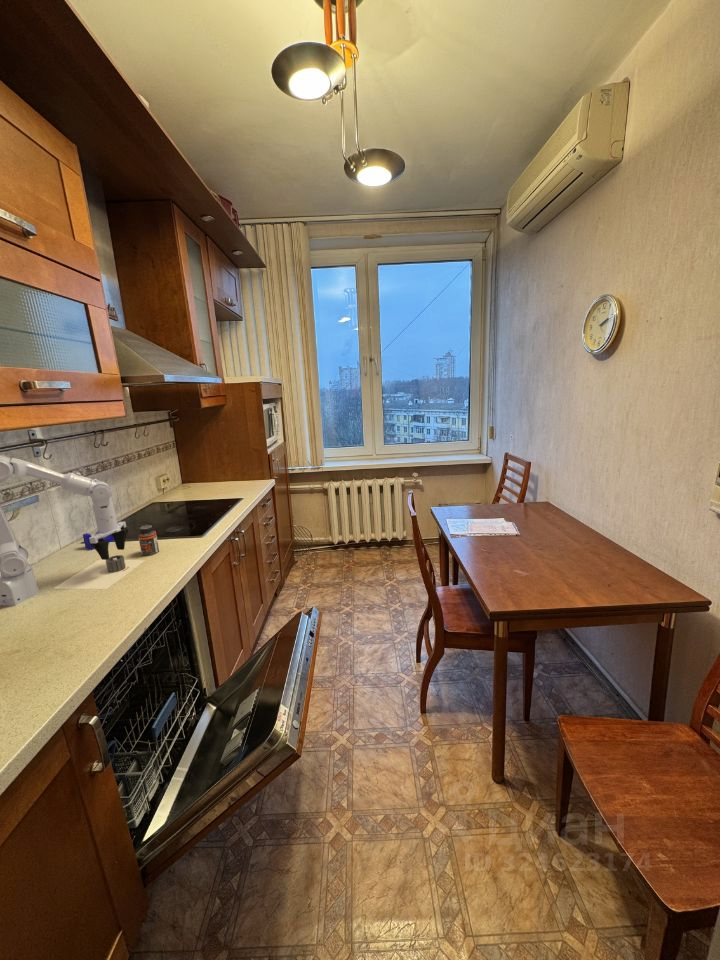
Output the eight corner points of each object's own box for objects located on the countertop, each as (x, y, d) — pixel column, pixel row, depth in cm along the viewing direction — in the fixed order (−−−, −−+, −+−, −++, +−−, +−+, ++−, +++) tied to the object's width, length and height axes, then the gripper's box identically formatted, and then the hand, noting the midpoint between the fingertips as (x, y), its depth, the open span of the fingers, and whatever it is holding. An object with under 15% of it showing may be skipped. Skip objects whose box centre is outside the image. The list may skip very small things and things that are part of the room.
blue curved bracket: (92, 550, 150) (88, 536, 149) (85, 548, 152) (82, 534, 151) (122, 539, 161) (119, 525, 159) (115, 537, 163) (113, 524, 161)
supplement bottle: (140, 559, 141) (134, 530, 138) (144, 552, 146) (139, 525, 143) (157, 556, 142) (152, 528, 139) (161, 550, 148) (156, 523, 145)
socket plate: (106, 591, 119) (103, 577, 118) (53, 590, 121) (49, 577, 119) (146, 561, 138) (143, 549, 137) (100, 561, 140) (97, 549, 139)
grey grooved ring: (118, 572, 129) (116, 562, 128) (104, 572, 130) (102, 561, 129) (128, 565, 134) (126, 555, 133) (115, 565, 135) (112, 555, 134)
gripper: (100, 525, 120) (109, 564, 123) (131, 509, 134) (137, 545, 137) (80, 525, 120) (89, 563, 124) (112, 509, 134) (119, 545, 138)
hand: (113, 554), depth 130 cm, fingers open, 7 cm apart
